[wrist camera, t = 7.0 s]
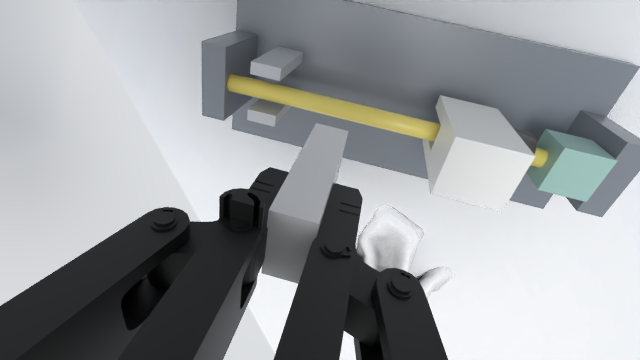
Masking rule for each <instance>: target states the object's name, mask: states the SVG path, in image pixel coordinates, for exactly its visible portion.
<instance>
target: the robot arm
mask: <svg viewBox="0 0 640 360" xmlns="http://www.w3.org/2000/svg"><path fill="white" fill-rule="evenodd" d="M347 135H348V131H346V130H342V129H338V128H334V127H330V126H326V125H322V124H318V123H316V124H315V126H314V128H313V130H312V132H311V133H310V135H309V137H308V139H307V141H306V143H305V144H304V146H303V148H302V150H301V152H300V154H299V155H298V157H297V159H296V161H295V163H294V165H293V166H292V168H291V170H290V172H286V171H282V170H278V169H274V168H271V167H270V168H268V169H266V170H264V171H262V172H261V173H260V174H259V175H258V177H257V178H256V180H255V182H253V184H252V185H251V187H250V188H249V189H242V188H240V189H232V190H229V191H226V192H224V193H223V194H222V195H221V196H220V209H219V219H218V221H213V222H190V220H189V217H188V215H187V214H186V213H185V212H184V211H183V210H180V209H177V208H169V207H164V208H159V209H155V210H153V211H150V212H148V213H147V214H145V215H143V216H142V217H140V218H138V219H137V220H135V221H134V222H132V223H131V224H129V225H127V226H126V227H124V228H123V229H121V230H119V231H118V232H116V233H115V234H113V235H112V236H110V237H108V238H107V239H105V240H104V241H102V242H101V243H99V244H98V245H96V246H94V247H93V248H91V249H90V250H88V251H87V252H85V253H83V254H82V255H80V256H79V257H77V258H75V259H74V260H72V261H71V262H69V263H68V264H66V265H64V266H63V267H61V268H60V269H58V270H57V271H55V272H53V273H52V274H50V275H48V276H47V277H45V278H44V279H42V280H41V281H39V282H38V283H36V284H34V285H33V286H31V287H30V288H28V289H26V290H25V291H24V292H22V293H20V294H19V295H17V296H15V297H14V298H12V299H11V300H9V301H7V302H6V303H4V304H3V305H1V306H0V360H223V358H224V356H225V354H226V351H227V349H228V347H229V345H230V343H231V340H232V338H233V336H234V334H235V331H236V329H237V327H238V325H239V323H240V320H241V318H242V316H243V314H244V312H245V309H246V307H247V305H248V303H249V301H250V298H251V296H252V294H253V292H254V289H255V287H256V283H257V275H258V273H259V271H260V268H261V266H262V273H263V274H267V275H270V276H274V277H277V278H281V279H284V280H288V281H291V282H295V283H298V287H297V290H296V293H295V296H294V299H293V302H292V305H291V308H290V311H289V314H288V317H287V320H286V323H285V327H284V330H283V333H282V336H281V339H280V342H279V345H278V348H277V351H276V354H275V357H274V360H339V357H340V351H341V345H342V338H343V332H344V331H345V332H347V333H348V334H350V335H351V336H353V337H354V345H355V353H356V360H448V358H447V355H446V352H445V350H444V347H443V344H442V341H441V338H440V335H439V332H438V329H437V327H436V324H435V321H434V318H433V315H432V312H431V309H430V306H429V304H428V301H427V298H426V295H425V292H424V289H423V287H422V286H421V284H420V282H419V281H418V280H417V279H416V278H415V277H414V276H413V275H412V274H410V273H408V272H406V271H405V270H402V269H398V268H386V269H385V270H383V271H381V272H379V271H377V270H376V269H374V268H372V267H371V266H369V265H368V264H366V263H365V262H364V261H363V260H362V259H361V258H360V257H359V255H358V254H357V251H356V248H355V243H356V236H357V230H358V224H359V218H360V212H361V205H362V196H361V194H360V192H359V190H358V189H355V188H351V187H347V186H343V185H339V184H336V180H337V176H338V172H339V168H340V164H341V160H342V156H343V152H344V148H345V144H346V140H347Z"/></svg>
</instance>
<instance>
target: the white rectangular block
mask: <svg viewBox="0 0 640 360" xmlns="http://www.w3.org/2000/svg"><path fill="white" fill-rule="evenodd" d="M435 108H436V111H437V114H438V118H439V121H440V124H441V127H440V129H439V132H438V134H437V137H436V139H435V142H433V141H429V140H425V139H423V141H422V142H423V149H424V155H425V161H426V167H427V174H428V180H429V186H430V193H431V194H433V195H437V196H441V197H445V198H449V199H452V200H456V201H460V202H464V203H468V204H472V205H476V206H479V207H483V208H487V209H491V210H495V211H499V212H502V211H503V210H504V208H505V206H506V205H507V203H508V201H509V200H510V198H511V196H512V195H513V193H514V191H515V190H516V188H517V186H518V185H519V183H520V181H521V180H522V178H523V176H524V175H525V173H526V171H527V170H528V168H529V166H530V165H531V163H532V161H533V160H534V158H535V155H534V154H533V152H532V151H531V150H530V149H529V147H528V146H527V145H526V144H525V142H524V141H523V140H522V139H521V137H520V136H519V135H518V134H517V132H516V131H515V130H514V129H513V127H512V126H511V125H510V123H509V122H508V121H507V120H506V118H505V117H504V116H503V115H502V113H501V112H500V111H499V110H498V109H497V108H492V107H488V106H484V105H480V104H476V103H471V102H467V101H463V100H459V99H454V98H450V97H446V96H442V95H440V96H439V99H438V102H437V104H436V107H435Z"/></svg>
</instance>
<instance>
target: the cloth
mask: <svg viewBox="0 0 640 360" xmlns="http://www.w3.org/2000/svg"><path fill="white" fill-rule="evenodd" d="M423 235H424V233H423V230H422V229H421V228H420V227H418V226H417V225H416V224H414V223H413V222H412V221H410V220H409V219H408V218H406V217H405V216H404V215H402V214H401V213H399V212H398V211H396V210H395V209H394V208H392V207H391V206H389V205H384V204H383V205H381V206H378V207H377V210H376V212H375V214H374V216H373V219H372V220H371V221H370V222H369V224H368V225H367V226H366V228H365V229H364V230H363V231H362V233H361V235H360V236H359V240H358V248H357V250H356V251H357V254H358V255H359V257H360V258H361V259H362V260H363V261H364V262H365V263H366V264H368V265H369V266H371V267H372V268H374V269H376V270H377V271H379V272H381V271H383V270H385V269H386V268H398V269H402V270H405V271H406V272H408V273H409V270H410V266H411V263H412V260H413V257H414V254H415V252H416V249H417V246H418V244H419V242H420V240H421V238H422V237H423ZM454 275H455V273H454V272H452V271H451V269H450V268H449V267H438V268H434V269H431V270H429V271H428V272H427V273H425V274H424V275H423V276H422V277H421V278H420V279H419V280H418V281H419V282H420V284H421V286H422V287H423V289H424V292H425V295H426V298H428V297H429V295H430V294H431V292H433V291H437V290H439V289H440V288H441V287H442V286H443V285H444V284H445V283H446V282H447V281H448V280H449V279H450V278H451V277H453V276H454Z"/></svg>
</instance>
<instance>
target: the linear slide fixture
mask: <svg viewBox="0 0 640 360" xmlns="http://www.w3.org/2000/svg"><path fill="white" fill-rule="evenodd" d="M639 68H640V66H637V65H634V64H631V63H628V62H623V61H619V60H614V59H610V58H605V57H601V56H596V55H592V54H587V53H583V52H578V51H574V50H569V49H564V48H560V47H555V46H551V45H546V44H542V43H537V42H533V41H528V40H524V39H519V38H515V37H510V36H506V35H501V34H497V33H492V32H488V31H483V30H478V29H474V28H469V27H465V26H460V25H456V24H451V23H447V22H442V21H438V20H433V19H429V18H424V17H420V16H415V15H411V14H406V13H402V12H397V11H393V10H388V9H383V8H379V7H374V6H370V5H365V4H361V3H356V2H352V1H347V0H237V22H236V31H234V32H231V33H227V34H224V35H221V36H217V37H214V38H211V39H207V40H204V41H202V115H203V116H207V117H211V118H215V119H219V120H223V121H224V120H225V119H226V118H228V117H229V116H230V115H232V114H233V120H232V129H234V130H238V131H242V132H245V133H249V134H253V135H257V136H261V137H265V138H269V139H273V140H277V141H281V142H284V143H288V144H292V145H296V146H300V147H303V146H304V144H305V143H306V141H307V139H308V137H309V135H310V133H311V132H312V130H313V128H314V126H315V124H316V123H318V124H322V125H326V126H330V127H334V128H338V129H342V130H346V131H348V135H347V140H346V144H345V148H344V152H343V156H342V157H343V158H347V159H351V160H355V161H359V162H362V163H366V164H370V165H374V166H378V167H382V168H386V169H390V170H394V171H398V172H401V173H405V174H409V175H413V176H417V177H421V178H425V179H428V174H427V167H426V161H425V155H424V149H423V142H422V141H423V139H425V140H429V141H433V142H435V139H436V137H437V134H438V132H439V129H440V127H441V124H440V121H439V118H438V114H437V111H436V108H435V107H436V104H437V102H438V99H439V96H440V95H442V96H446V97H450V98H454V99H459V100H463V101H467V102H471V103H476V104H480V105H484V106H488V107H492V108H497V109H498V110H499V111H500V112H501V113H502V115H503V116H504V117H505V118H506V120H507V121H508V122H509V123H510V125H511V126H512V127H513V129H514V130H515V131H516V132H517V134H518V135H519V136H520V137H521V139H522V140H523V141H524V142H525V144H526V145H527V146H528V147H529V149H530V150H531V151H532V152H533V154H534V155H535V158H534V160H533V161H532V163H531V165H530V166H529V168H528V170H527V171H526V173H525V175H524V176H523V178H522V180H521V181H520V183H519V185H518V186H517V188H516V190H515V191H514V193H513V195H512V196H511V198H510V200H511V201H514V202H518V203H522V204H526V205H530V206H534V207H538V208H542V209H543V208H544V207H545V205H546V204H547V202H548V201H549V200H550V198H551V197H552V195H553V194H557V195H561V196H565V197H566V198H567V199H568V200H569V202H570V203H571V204H572V205H573V207H574V208H575V209H576V210H577V211H580V212H584V213H588V214H592V215H595V216H599V217H602V216H603V215H604V214H605V213H606V211H607V210H608V209H609V208H610V207H611V205H612V204H613V203H614V202H615V200H616V199H617V198H618V197H619V196H620V194H621V193H622V192H623V191H624V189H625V188H626V187H627V186H628V185H629V183H630V182H631V181H632V180H633V178H634V177H635V176H636V175H637V173H638V172H639V171H640V138H638V137H637V136H635V135H634V134H632V133H630V132H629V131H627V130H626V129H624V128H623V127H621V126H620V125H618V124H616V123H615V122H613V121H612V120H610V119H609V118H607V117H606V116H607V115H608V113H609V112H610V110H611V109H612V107H613V106H614V104H615V103H616V101H617V100H618V98H619V97H620V96H621V94H622V93H623V91H624V90H625V88H626V87H627V85H628V84H629V82H630V81H631V79H632V78H633V77H634V75H635V74H636V72H637V71H638V69H639Z"/></svg>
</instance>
